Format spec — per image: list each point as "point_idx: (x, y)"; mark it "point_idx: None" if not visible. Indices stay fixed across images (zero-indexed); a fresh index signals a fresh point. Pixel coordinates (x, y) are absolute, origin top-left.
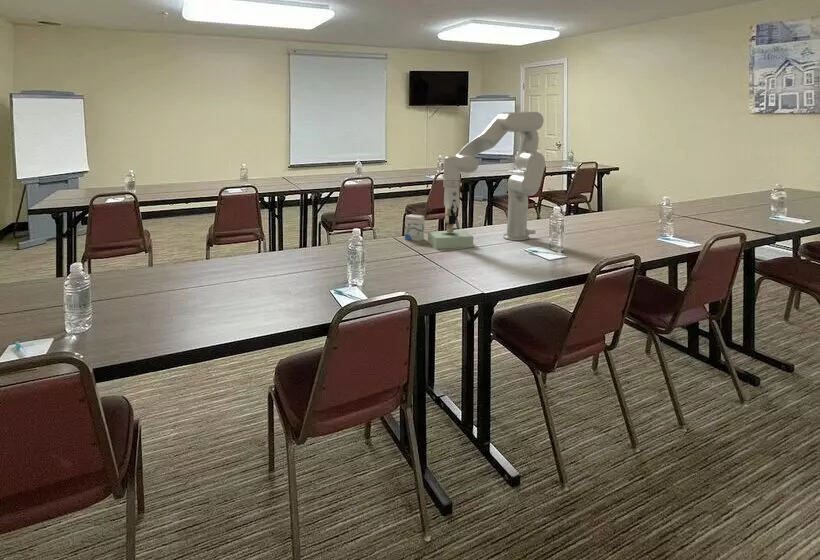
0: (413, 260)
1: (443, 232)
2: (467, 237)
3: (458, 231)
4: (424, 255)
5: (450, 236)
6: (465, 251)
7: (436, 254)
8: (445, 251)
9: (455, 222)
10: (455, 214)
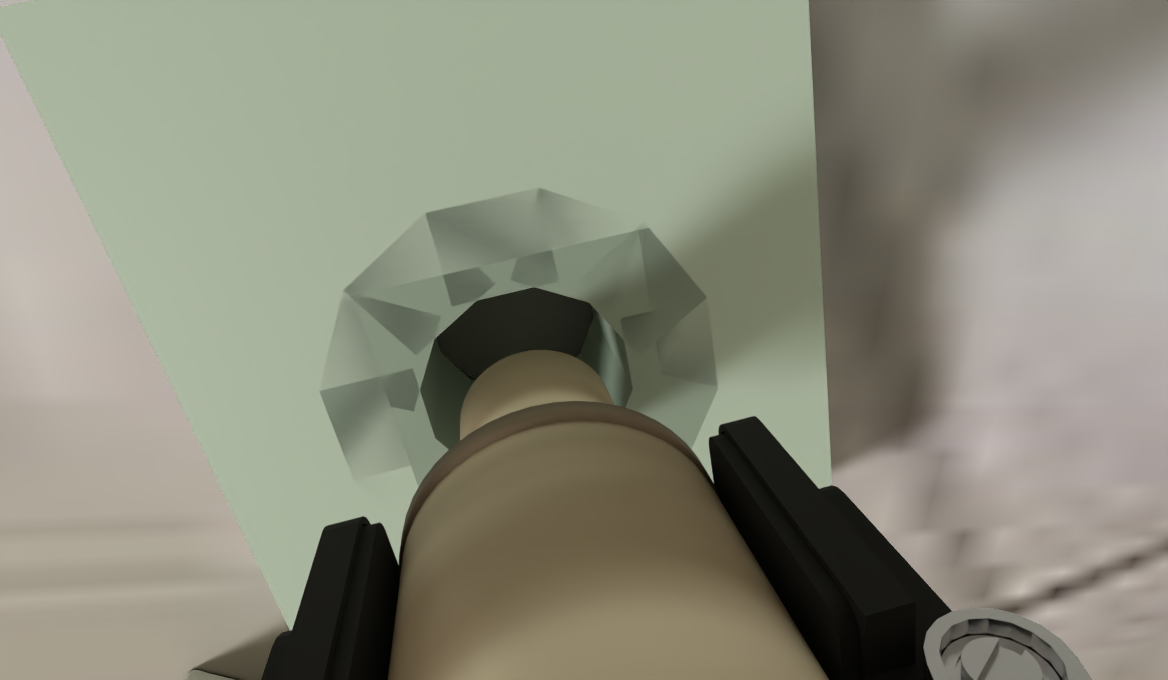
0: (1151, 659)
1: (387, 513)
2: (799, 31)
3: (225, 192)
4: (1019, 592)
5: (752, 391)
6: (972, 110)
7: (1015, 484)
8: (910, 388)
9: (769, 436)
10: (1070, 671)
